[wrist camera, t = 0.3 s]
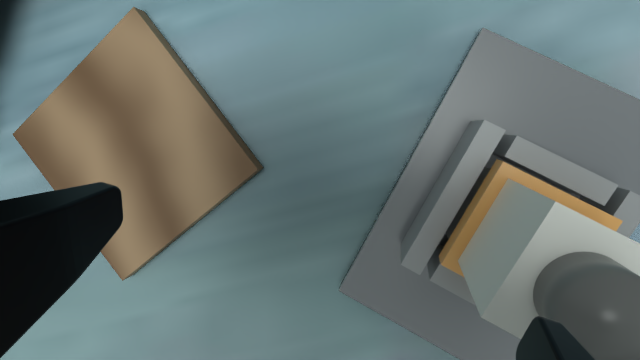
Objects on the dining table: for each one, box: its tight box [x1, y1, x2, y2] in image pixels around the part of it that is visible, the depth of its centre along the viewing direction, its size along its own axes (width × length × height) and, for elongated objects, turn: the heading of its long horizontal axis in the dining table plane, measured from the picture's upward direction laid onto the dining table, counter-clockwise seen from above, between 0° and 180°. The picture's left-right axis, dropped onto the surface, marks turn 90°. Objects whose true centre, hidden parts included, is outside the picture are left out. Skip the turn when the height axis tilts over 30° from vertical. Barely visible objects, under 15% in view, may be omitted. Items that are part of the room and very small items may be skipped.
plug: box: [439, 159, 640, 360], centre depth 15 cm, size 5×5×12 cm
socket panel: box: [339, 28, 640, 360], centre depth 20 cm, size 16×11×4 cm
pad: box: [13, 7, 263, 281], centre depth 25 cm, size 12×12×1 cm
